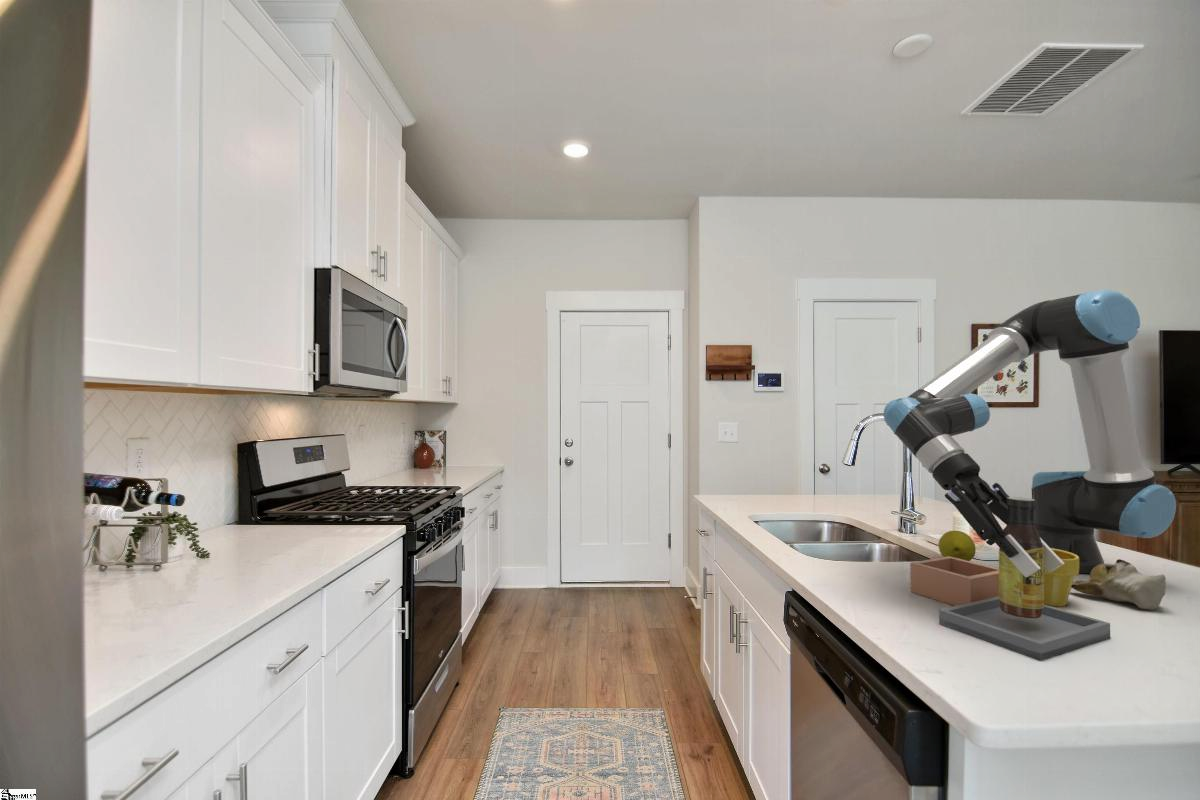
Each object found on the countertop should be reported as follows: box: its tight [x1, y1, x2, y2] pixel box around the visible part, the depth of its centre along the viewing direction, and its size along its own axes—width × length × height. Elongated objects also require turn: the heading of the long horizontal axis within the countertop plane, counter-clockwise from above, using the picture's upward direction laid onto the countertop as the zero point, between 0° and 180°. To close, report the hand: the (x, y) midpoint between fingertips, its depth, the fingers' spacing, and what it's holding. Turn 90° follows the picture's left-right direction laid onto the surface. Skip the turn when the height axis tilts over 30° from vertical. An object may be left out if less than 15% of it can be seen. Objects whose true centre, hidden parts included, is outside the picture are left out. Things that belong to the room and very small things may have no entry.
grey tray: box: [938, 596, 1111, 661], centre depth 97 cm, size 20×16×2 cm
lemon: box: [937, 530, 976, 562], centre depth 139 cm, size 11×8×8 cm
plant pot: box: [1044, 548, 1080, 607], centre depth 112 cm, size 10×10×10 cm
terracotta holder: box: [910, 556, 999, 606], centre depth 115 cm, size 12×12×6 cm
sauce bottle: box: [998, 496, 1044, 618], centre depth 97 cm, size 6×6×20 cm
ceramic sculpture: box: [1071, 558, 1167, 611], centre depth 112 cm, size 11×9×15 cm
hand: (1045, 570), depth 94 cm, fingers closed on sauce bottle, 6 cm apart
